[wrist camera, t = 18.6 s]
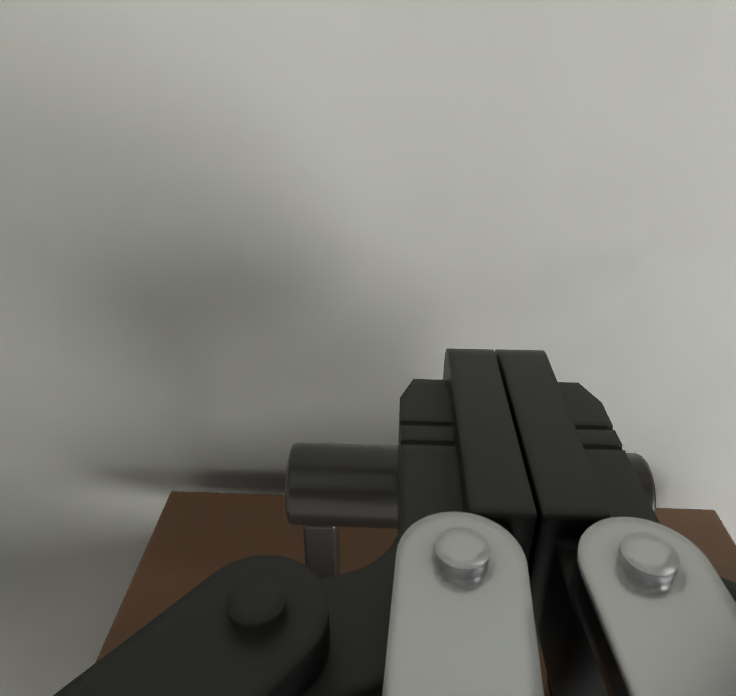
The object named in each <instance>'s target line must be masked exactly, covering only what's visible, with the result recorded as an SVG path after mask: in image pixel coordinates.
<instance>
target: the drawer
mask: <svg viewBox="0 0 736 696" xmlns="http://www.w3.org/2000/svg"><path fill="white" fill-rule="evenodd" d="M626 454H627V456H628V458H629V460H630V463H631V465H632V467H633V469H634V471H635V473H636V475H637V477H638V479H639V481H640V483H641V485H642V487H643V489H644V491H645V494H646V496H647V498H648V500H649V502H650V504H651V506H652V508H653V510H654V512H655V514H656V516H657V518H658V520H659V522H660V524H661V525H664V526H666V527H668V528H670V529H672V530H674V531H676V532H678V533H679V534H681V535H682V536H684V537H686V538H687V539H688V540H690V541H691V542H692V543H693V544H694V545H696V546H697V547H698V548H699V549H700V550H701V551H702V552H703V553H704V555H705V556H706V557H707V559H708V560H709V561H710V563H711V564H712V566H713V567H714V569H715V570H716V572H717V574H718V575H719V576H720V577H723V578H725V579H727V580H729V581H732V582H735V583H736V545H735V543H734V542H733V540H732V538H731V537H730V535H729V533H728V532H727V530H726V528H725V526H724V525H723V523H722V521H721V520H720V518H719V516H718V515H717V513H716V511H715V510H701V509H672V508H656V495H655V486H654V481H653V476H652V473H651V470H650V468H649V465H648V464H647V462H646V460H645V459H644V458H643V457H642V456H640V455H638V454H635V453H626ZM397 535H398V446H388V445H357V444H326V443H296V444H294V445H293V446H292V449H291V451H290V455H289V459H288V466H287V474H286V490H285V495H267V494H238V493H209V492H180V491H172V492H171V493H170V495H169V498H168V500H167V502H166V504H165V507H164V509H163V511H162V514H161V516H160V518H159V520H158V523H157V525H156V527H155V529H154V532H153V534H152V536H151V538H150V541H149V543H148V545H147V548H146V550H145V552H144V554H143V557H142V559H141V561H140V563H139V566H138V568H137V570H136V573H135V575H134V577H133V579H132V582H131V584H130V586H129V588H128V591H127V593H126V595H125V597H124V600H123V602H122V604H121V607H120V609H119V611H118V613H117V616H116V618H115V620H114V622H113V625H112V627H111V629H110V632H109V634H108V636H107V638H106V641H105V643H104V645H103V647H102V650H101V652H100V654H99V656H98V659H97V661H96V662H98V661H99V660H100V659H102V658H103V657H104V656H106V655H107V654H108V653H110V652H111V651H112V650H113V649H115V648H116V647H117V646H119V645H120V644H121V643H123V642H124V641H125V640H127V639H128V638H129V637H130V636H132V635H133V634H134V633H136V632H137V631H138V630H140V629H141V628H142V627H144V626H145V625H146V624H147V623H149V622H150V621H151V620H153V619H154V618H155V617H157V616H158V615H159V614H161V613H162V612H163V611H165V610H166V609H167V608H168V607H170V606H171V605H172V604H174V603H175V602H176V601H178V600H179V599H180V598H182V597H183V596H184V595H185V594H187V593H188V592H189V591H191V590H192V589H193V588H195V587H196V586H197V585H199V584H200V583H201V582H203V581H204V580H205V579H206V578H208V577H209V576H210V575H212V574H213V573H214V572H216V571H217V570H219V569H220V568H222V567H224V566H226V565H228V564H230V563H232V562H234V561H237V560H240V559H243V558H246V557H251V556H256V555H279V556H284V557H288V558H291V559H294V560H296V561H299V562H301V563H302V564H304V565H306V566H307V567H309V568H310V569H311V570H312V571H313V572H314V573H315V574H316V575H317V576H318V577H319V579H320V580H321V579H324V578H328V577H332V576H336V575H340V574H344V573H348V572H351V571H354V570H357V569H360V568H362V567H364V566H366V565H369V564H370V563H372V562H373V561H375V560H377V559H378V558H379V557H381V556H382V555H383V554H384V553H385V552H386V551H387V550H388V549H389V548H390V546H391V545H392V544H393V542H394V540H395V538H396V537H397ZM538 652H539V660H540V667H541V675H542V683H543V691H544V687H545V683H546V679H547V671H546V667H545V662H544V657H543V653H542V650H538Z"/></svg>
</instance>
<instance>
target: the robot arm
mask: <svg viewBox="0 0 736 696" xmlns="http://www.w3.org/2000/svg"><path fill="white" fill-rule="evenodd" d="M538 650H542V653H543V657H544V662H545V667H546V671H547V679H546V683H545V687H544V691H543V683H542V675H541V667H540V660H539V652H538ZM53 696H736V583H735V582H732V581H729V580H727V579H725V578H723V577H720V576H719V575H718V574H717V572H716V570H715V569H714V567H713V566H712V564H711V563H710V561H709V560H708V559H707V557H706V556H705V555H704V553H703V552H702V551H701V550H700V549H699V548H698V547H697V546H696V545H694V544H693V543H692V542H691V541H690V540H688V539H687V538H686V537H684V536H682V535H681V534H679V533H678V532H676V531H674V530H672V529H670V528H668V527H666V526H664V525H661V524H660V522H659V520H658V518H657V516H656V514H655V512H654V510H653V508H652V506H651V504H650V502H649V500H648V498H647V496H646V494H645V491H644V489H643V487H642V485H641V483H640V481H639V479H638V477H637V475H636V473H635V471H634V469H633V467H632V465H631V463H630V460H629V458H628V456H627V454H626V452H625V450H622V444H621V442H620V440H619V438H618V436H617V434H616V431H615V430H613V425H612V423H611V421H610V419H609V417H608V415H607V413H606V411H605V409H604V407H603V405H602V403H601V402H600V401H599V400H598V399H597V398H595V397H594V396H593V395H592V394H591V393H590V392H588V391H587V390H586V389H585V388H584V387H583V386H582V385H580V384H579V383H565V382H557V380H556V378H555V375H554V373H553V370H552V368H551V365H550V363H549V360H548V358H547V355H546V353H545V352H544V351H541V350H495V352H494V350H486V349H446V353H445V361H444V374H443V380H425V379H413V380H412V382H411V383H410V385H409V386H408V388H407V389H406V390H405V392H404V393H403V395H402V396H401V397H400V414H399V445H398V535H397V537H396V538H395V540H394V542H393V544H392V545H391V546H390V548H389V549H388V550H387V551H386V552H385V553H384V554H383V555H382V556H381V557H379V558H378V559H377V560H375V561H373V562H372V563H370V564H369V565H366V566H364V567H362V568H360V569H357V570H354V571H351V572H348V573H344V574H340V575H336V576H332V577H328V578H324V579H321V580H320V579H319V577H318V576H317V575H316V574H315V573H314V572H313V571H312V570H311V569H310V568H309V567H307V566H306V565H304V564H302V563H301V562H299V561H296V560H294V559H291V558H288V557H284V556H279V555H256V556H251V557H246V558H243V559H240V560H237V561H234V562H232V563H230V564H228V565H226V566H224V567H222V568H220V569H219V570H217V571H216V572H214V573H213V574H212V575H210V576H209V577H208V578H206V579H205V580H204V581H203V582H201V583H200V584H199V585H197V586H196V587H195V588H193V589H192V590H191V591H189V592H188V593H187V594H185V595H184V596H183V597H182V598H180V599H179V600H178V601H176V602H175V603H174V604H172V605H171V606H170V607H168V608H167V609H166V610H165V611H163V612H162V613H161V614H159V615H158V616H157V617H155V618H154V619H153V620H151V621H150V622H149V623H147V624H146V625H145V626H144V627H142V628H141V629H140V630H138V631H137V632H136V633H134V634H133V635H132V636H130V637H129V638H128V639H127V640H125V641H124V642H123V643H121V644H120V645H119V646H117V647H116V648H115V649H113V650H112V651H111V652H110V653H108V654H107V655H106V656H104V657H103V658H102V659H100V660H99V661H98V662H96V663H95V664H94V665H92V666H91V667H90V668H89V669H87V670H86V671H85V672H83V673H82V674H81V675H79V676H78V677H77V678H75V679H74V680H73V681H72V682H70V683H69V684H68V685H66V686H65V687H64V688H62V689H61V690H60V691H58V692H57V693H56V694H55V695H53Z"/></svg>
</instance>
